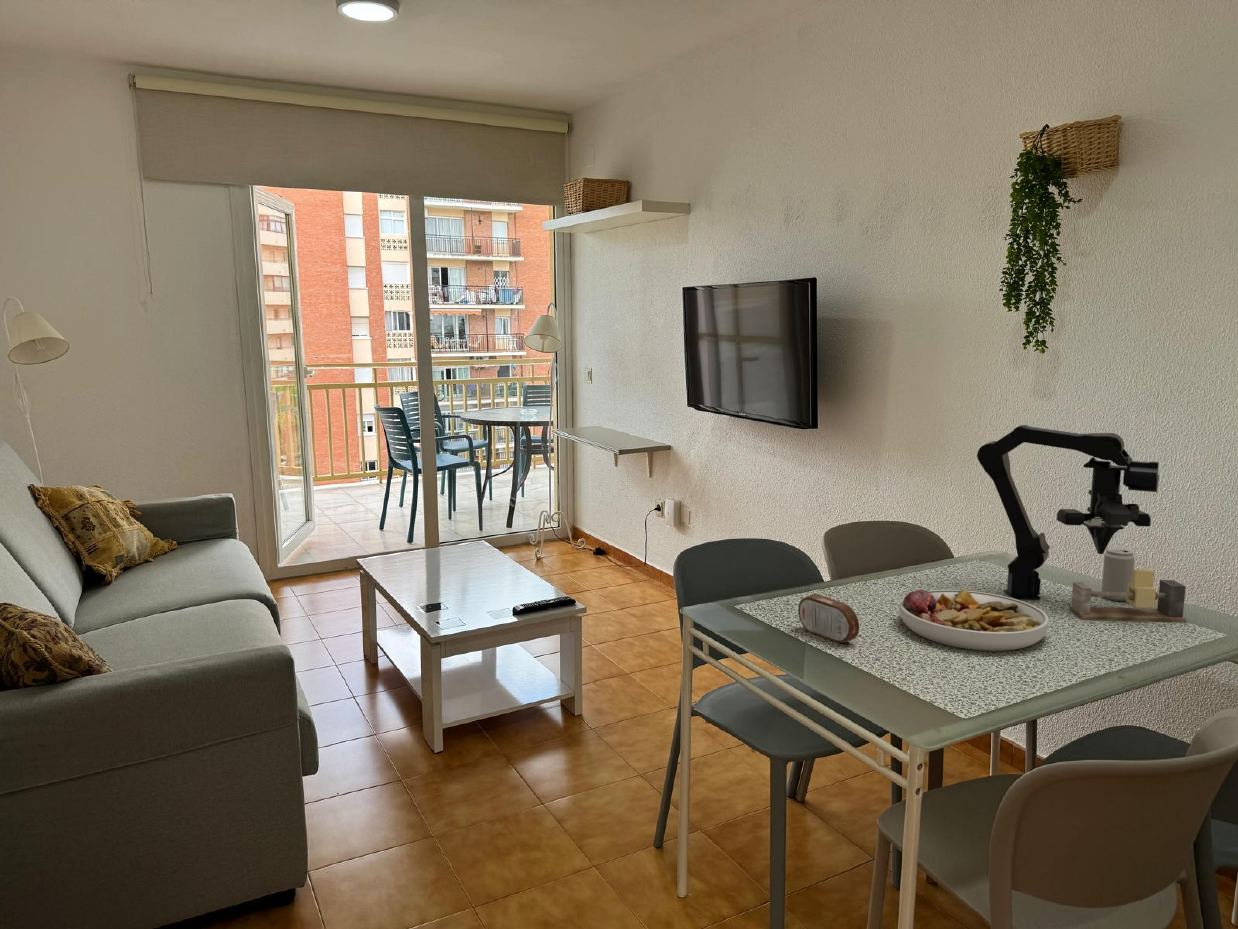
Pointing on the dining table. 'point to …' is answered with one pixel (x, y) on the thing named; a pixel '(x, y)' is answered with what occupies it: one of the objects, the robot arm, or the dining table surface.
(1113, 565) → the beverage can
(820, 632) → the tin
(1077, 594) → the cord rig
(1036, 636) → the bowl
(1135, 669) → the dining table surface
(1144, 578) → the marker sleeve
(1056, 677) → the dining table surface
